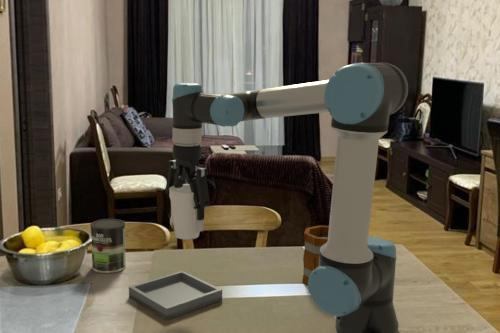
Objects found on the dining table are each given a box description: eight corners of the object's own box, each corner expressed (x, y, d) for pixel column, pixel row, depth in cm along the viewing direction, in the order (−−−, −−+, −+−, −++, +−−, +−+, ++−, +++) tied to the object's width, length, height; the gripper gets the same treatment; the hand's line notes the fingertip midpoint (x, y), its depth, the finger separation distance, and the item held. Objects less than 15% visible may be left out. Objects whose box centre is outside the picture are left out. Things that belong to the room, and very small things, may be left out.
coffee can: (115, 275, 177) (114, 230, 174) (85, 271, 180) (83, 226, 177) (132, 263, 187) (131, 220, 184) (103, 259, 190) (101, 217, 187)
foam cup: (198, 243, 153) (198, 194, 150) (164, 239, 155) (164, 191, 152) (208, 231, 162) (209, 185, 160) (176, 228, 164) (176, 182, 161)
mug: (308, 291, 167) (310, 240, 164) (296, 273, 180) (297, 226, 177) (374, 287, 171) (377, 237, 168) (357, 270, 184) (360, 223, 181)
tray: (222, 300, 161) (222, 289, 160) (167, 319, 149) (166, 308, 148) (182, 280, 174) (182, 270, 173) (129, 297, 162) (128, 286, 161)
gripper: (225, 148, 148) (224, 234, 153) (174, 136, 164) (174, 214, 169) (201, 151, 143) (200, 240, 148) (151, 138, 159) (152, 218, 164)
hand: (186, 226), depth 158 cm, fingers closed on foam cup, 9 cm apart
